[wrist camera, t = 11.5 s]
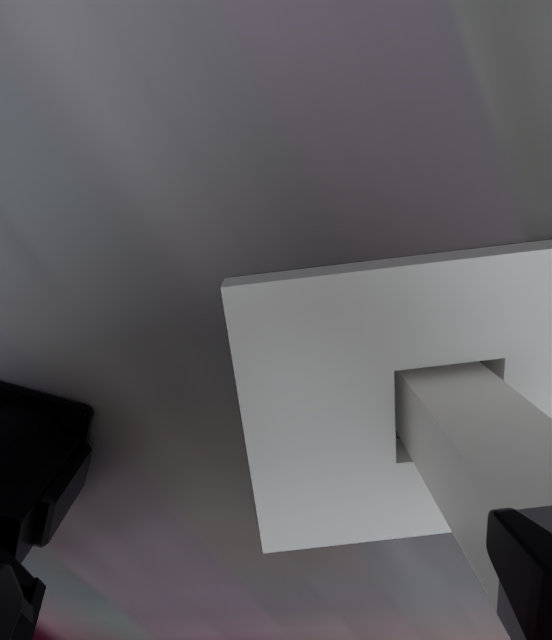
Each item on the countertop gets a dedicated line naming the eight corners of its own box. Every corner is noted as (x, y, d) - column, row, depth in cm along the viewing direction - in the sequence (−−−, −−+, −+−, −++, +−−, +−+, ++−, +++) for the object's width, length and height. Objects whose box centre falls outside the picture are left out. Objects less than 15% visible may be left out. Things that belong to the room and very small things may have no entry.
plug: (395, 429, 22) (538, 689, 10) (393, 363, 21) (552, 576, 9) (468, 421, 22) (690, 671, 10) (470, 354, 21) (725, 556, 9)
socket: (263, 524, 24) (263, 553, 22) (224, 277, 19) (220, 287, 17) (548, 492, 24) (573, 518, 22) (580, 236, 19) (615, 241, 17)
